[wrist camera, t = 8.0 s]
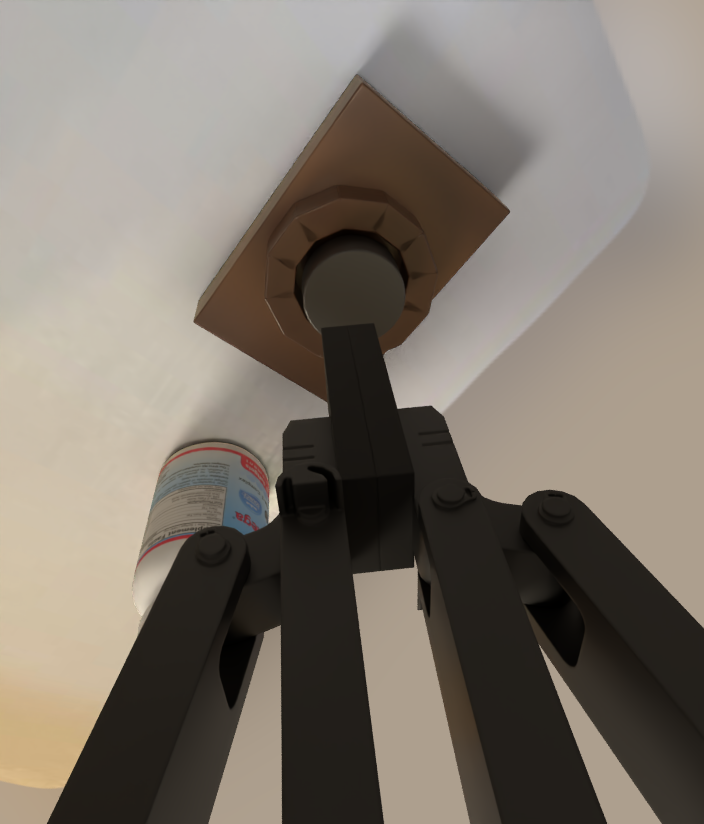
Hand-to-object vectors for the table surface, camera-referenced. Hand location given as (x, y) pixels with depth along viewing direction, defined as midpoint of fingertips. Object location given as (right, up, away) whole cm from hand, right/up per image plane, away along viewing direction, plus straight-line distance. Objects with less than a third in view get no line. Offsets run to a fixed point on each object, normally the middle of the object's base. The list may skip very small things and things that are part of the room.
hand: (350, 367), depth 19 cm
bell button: (0, +4, +8) cm, 9 cm away
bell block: (0, +6, +11) cm, 12 cm away
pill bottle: (-8, -5, +18) cm, 20 cm away
